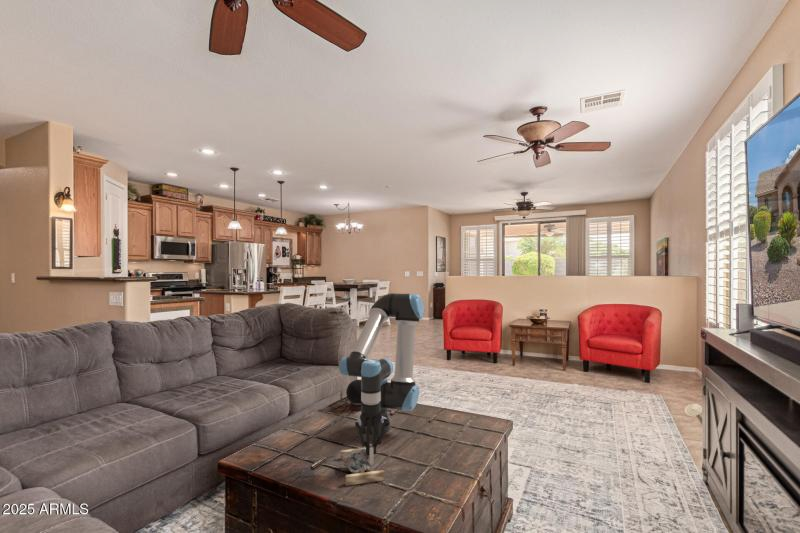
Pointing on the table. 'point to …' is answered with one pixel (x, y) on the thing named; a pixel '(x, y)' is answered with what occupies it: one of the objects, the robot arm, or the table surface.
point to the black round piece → (354, 395)
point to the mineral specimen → (357, 461)
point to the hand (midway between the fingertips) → (370, 462)
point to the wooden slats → (362, 477)
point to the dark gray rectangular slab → (307, 473)
